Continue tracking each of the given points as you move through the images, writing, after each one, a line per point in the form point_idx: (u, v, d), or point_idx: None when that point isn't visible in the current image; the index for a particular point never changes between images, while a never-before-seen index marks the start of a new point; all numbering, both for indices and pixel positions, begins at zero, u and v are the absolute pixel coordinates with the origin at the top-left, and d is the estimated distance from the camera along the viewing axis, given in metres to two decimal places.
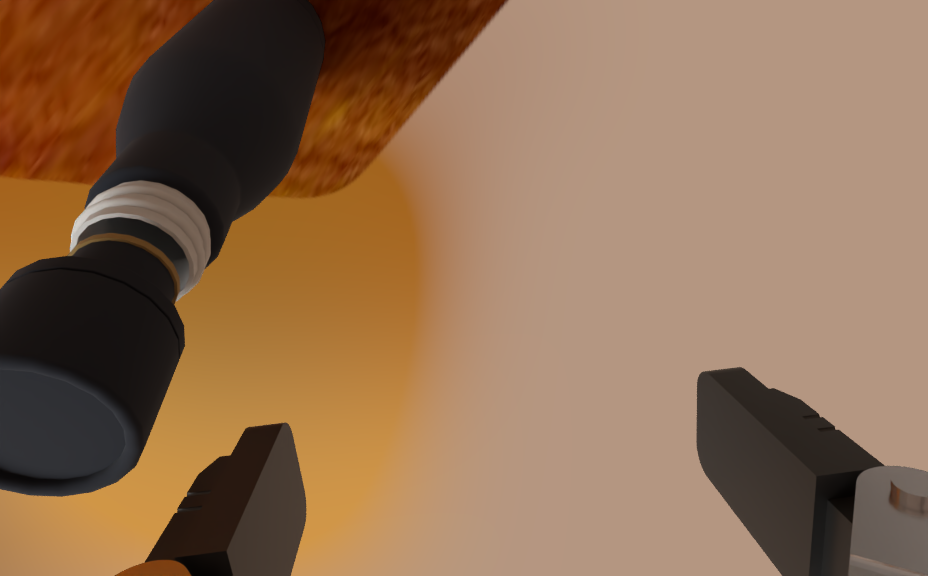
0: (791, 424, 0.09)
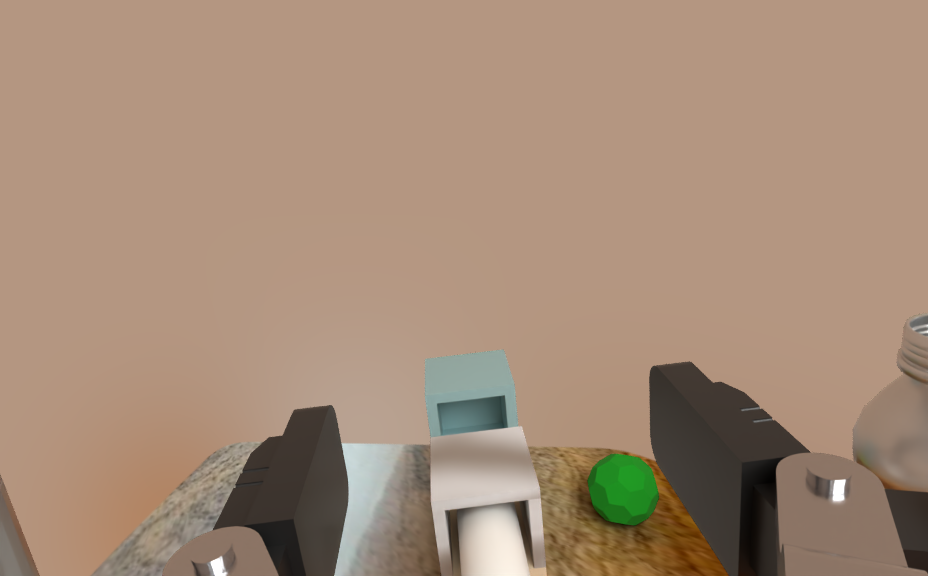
0: (727, 415, 0.10)
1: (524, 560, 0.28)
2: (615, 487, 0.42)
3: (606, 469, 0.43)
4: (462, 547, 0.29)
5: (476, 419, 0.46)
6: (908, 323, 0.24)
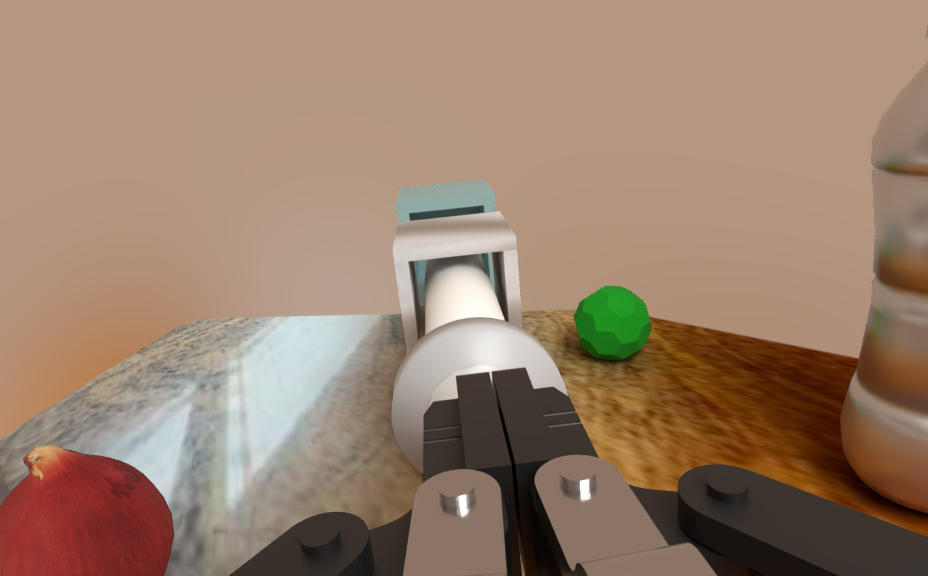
0: (528, 418, 0.10)
1: (496, 301, 0.25)
2: (604, 313, 0.39)
3: (594, 298, 0.40)
4: (427, 298, 0.26)
5: None
6: None
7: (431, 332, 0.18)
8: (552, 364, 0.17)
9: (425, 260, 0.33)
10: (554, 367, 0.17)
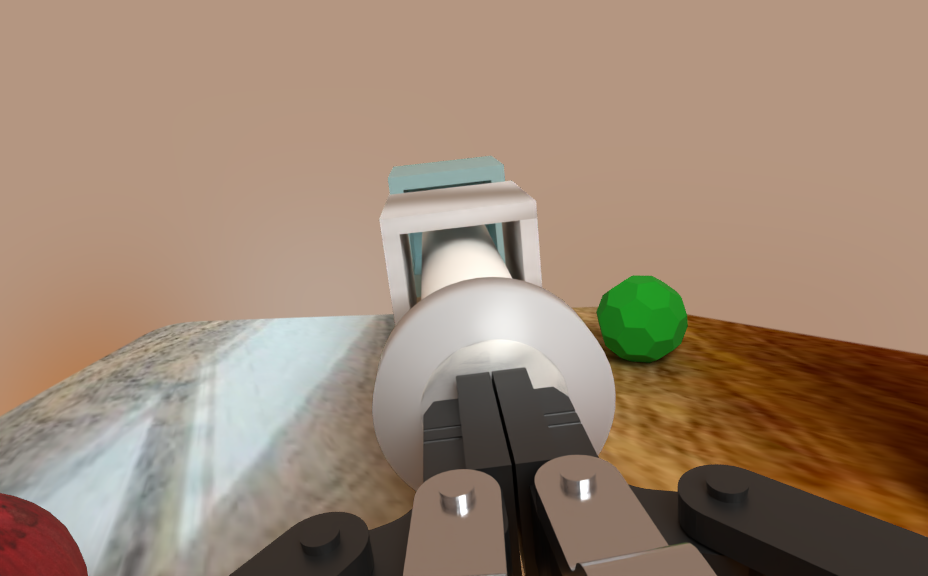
0: (528, 418, 0.10)
1: (509, 274, 0.20)
2: (633, 306, 0.33)
3: (620, 290, 0.34)
4: (424, 273, 0.21)
5: None
6: None
7: (426, 298, 0.13)
8: (593, 338, 0.13)
9: (422, 237, 0.28)
10: (596, 342, 0.13)
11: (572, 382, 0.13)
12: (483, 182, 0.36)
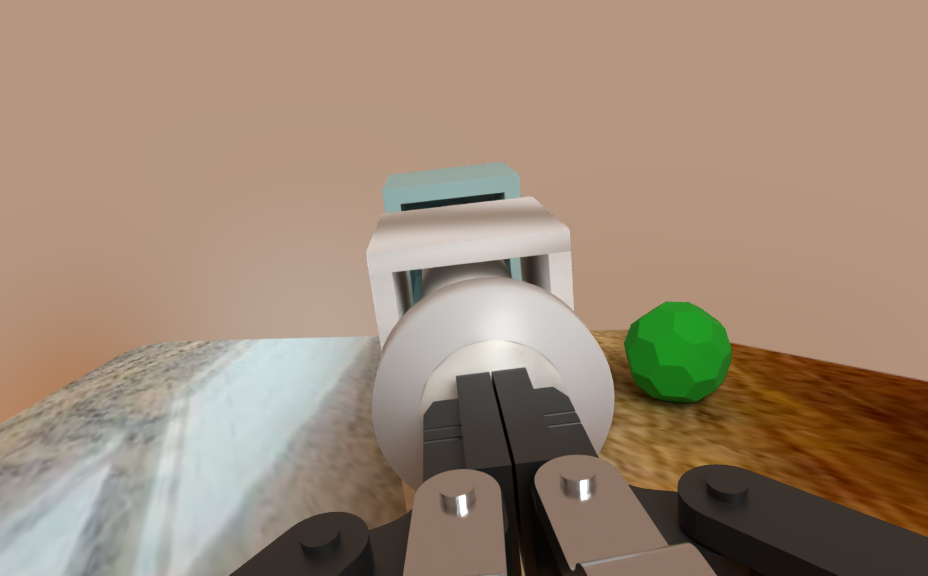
0: (528, 418, 0.10)
1: (509, 273, 0.20)
2: (670, 340, 0.28)
3: (653, 320, 0.29)
4: (424, 272, 0.21)
5: None
6: None
7: (426, 298, 0.13)
8: (593, 339, 0.13)
9: None
10: (595, 343, 0.13)
11: (571, 382, 0.13)
12: (493, 193, 0.31)
